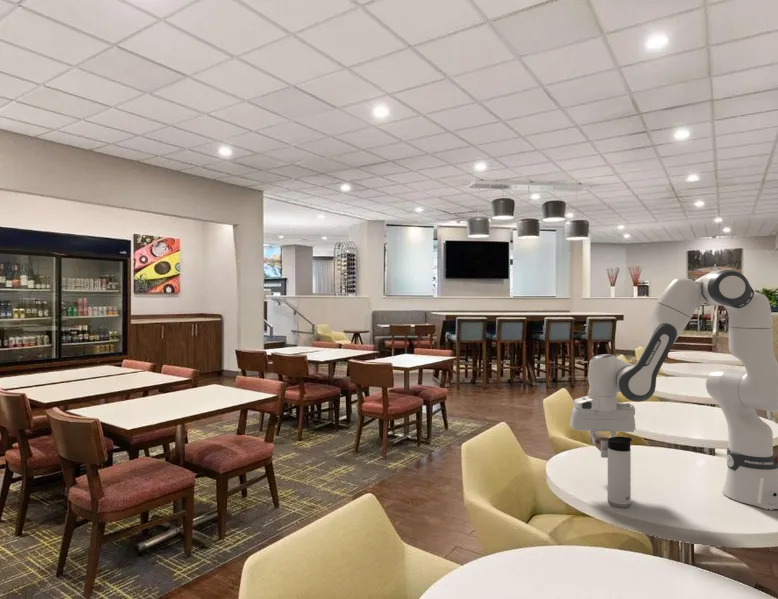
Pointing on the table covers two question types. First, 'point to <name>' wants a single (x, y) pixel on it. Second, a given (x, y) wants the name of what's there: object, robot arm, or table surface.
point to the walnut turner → (601, 443)
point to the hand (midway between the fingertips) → (602, 443)
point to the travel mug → (619, 472)
